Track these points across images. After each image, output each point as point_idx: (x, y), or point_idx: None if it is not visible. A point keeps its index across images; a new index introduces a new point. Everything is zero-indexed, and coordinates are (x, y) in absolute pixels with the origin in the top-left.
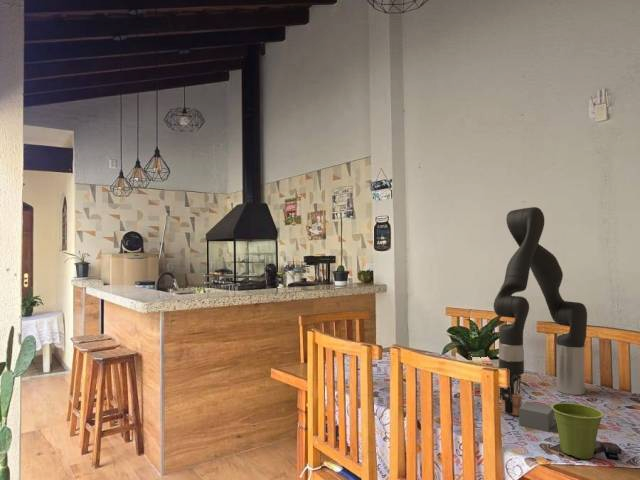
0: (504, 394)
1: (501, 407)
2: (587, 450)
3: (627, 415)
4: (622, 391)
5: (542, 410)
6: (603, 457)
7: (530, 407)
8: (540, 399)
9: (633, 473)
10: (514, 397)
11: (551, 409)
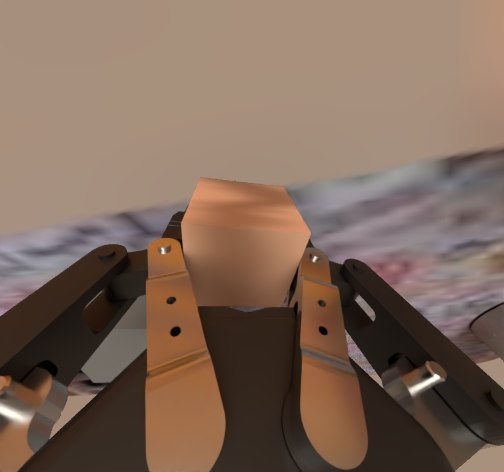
0: (99, 288)
1: (195, 190)
2: None
3: None
4: (486, 359)
5: (120, 371)
6: (77, 379)
7: (115, 349)
8: (438, 273)
9: None
10: (225, 290)
11: None
